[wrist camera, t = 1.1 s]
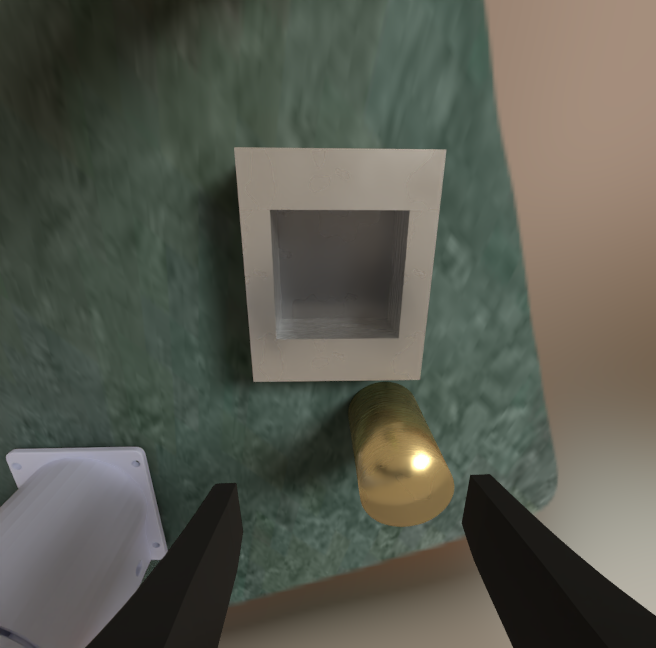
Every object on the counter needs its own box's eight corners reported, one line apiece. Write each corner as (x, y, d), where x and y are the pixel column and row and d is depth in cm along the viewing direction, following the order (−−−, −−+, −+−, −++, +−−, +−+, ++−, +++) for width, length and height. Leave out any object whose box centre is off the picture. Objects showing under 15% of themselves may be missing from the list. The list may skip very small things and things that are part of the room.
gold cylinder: (413, 439, 22) (447, 525, 16) (347, 440, 22) (358, 527, 16) (420, 381, 20) (460, 454, 15) (349, 382, 20) (362, 456, 15)
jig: (404, 352, 19) (419, 379, 17) (262, 354, 19) (253, 381, 16) (423, 156, 16) (446, 149, 13) (248, 155, 16) (234, 147, 13)
